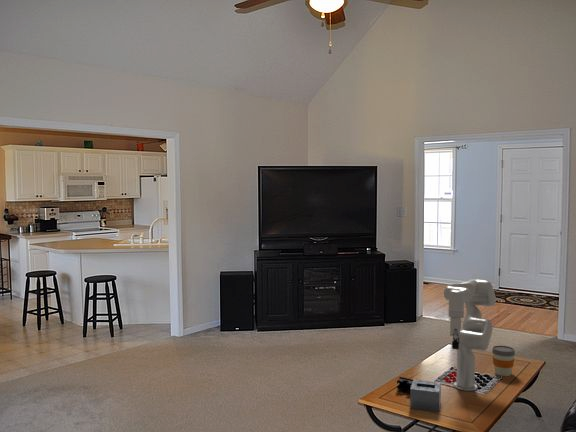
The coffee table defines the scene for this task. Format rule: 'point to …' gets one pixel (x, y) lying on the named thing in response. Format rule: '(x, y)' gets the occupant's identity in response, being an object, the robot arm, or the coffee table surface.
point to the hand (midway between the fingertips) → (455, 346)
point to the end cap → (404, 385)
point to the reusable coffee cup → (503, 360)
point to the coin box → (425, 395)
